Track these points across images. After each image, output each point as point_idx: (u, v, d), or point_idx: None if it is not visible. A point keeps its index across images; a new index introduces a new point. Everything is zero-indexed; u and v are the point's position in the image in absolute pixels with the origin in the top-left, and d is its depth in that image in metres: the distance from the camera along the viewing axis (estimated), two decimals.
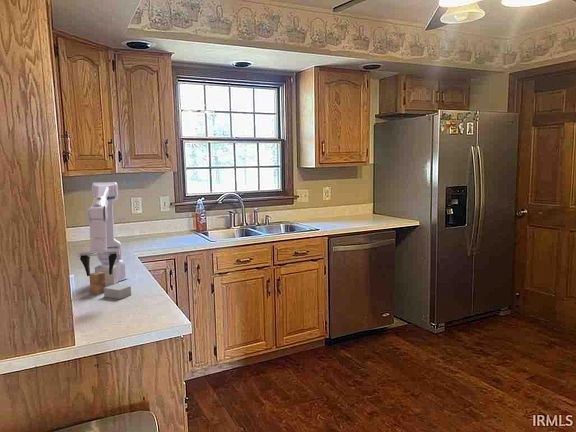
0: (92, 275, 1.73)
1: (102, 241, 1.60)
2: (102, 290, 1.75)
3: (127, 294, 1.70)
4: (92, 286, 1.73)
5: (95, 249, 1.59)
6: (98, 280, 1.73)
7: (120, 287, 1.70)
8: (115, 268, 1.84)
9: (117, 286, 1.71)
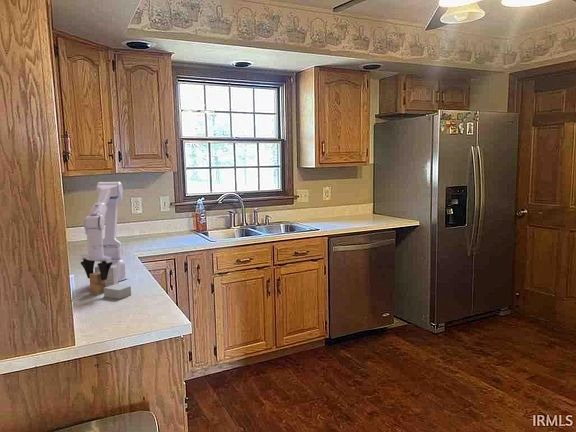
0: (92, 275, 1.73)
1: (94, 249, 1.70)
2: (102, 290, 1.75)
3: (127, 294, 1.70)
4: (92, 286, 1.73)
5: (89, 256, 1.71)
6: (98, 280, 1.73)
7: (120, 287, 1.70)
8: (115, 268, 1.84)
9: (117, 286, 1.71)
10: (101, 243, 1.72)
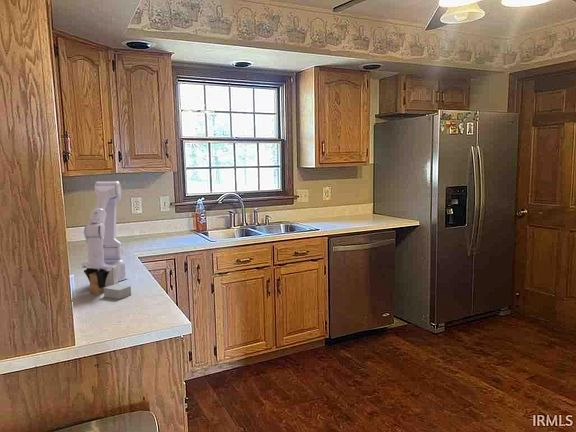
0: (92, 275, 1.73)
1: (94, 257, 1.71)
2: (102, 290, 1.75)
3: (127, 294, 1.70)
4: (92, 286, 1.73)
5: (89, 264, 1.72)
6: None
7: (120, 287, 1.70)
8: (115, 268, 1.84)
9: (117, 286, 1.71)
10: (101, 251, 1.73)
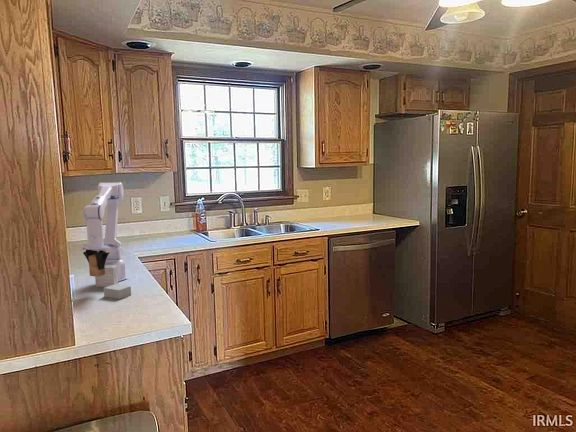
0: (91, 257, 1.71)
1: (94, 239, 1.70)
2: (101, 272, 1.73)
3: (127, 294, 1.70)
4: (91, 268, 1.72)
5: (88, 245, 1.70)
6: (97, 262, 1.71)
7: (120, 287, 1.70)
8: (115, 268, 1.84)
9: (117, 286, 1.71)
10: (101, 233, 1.72)
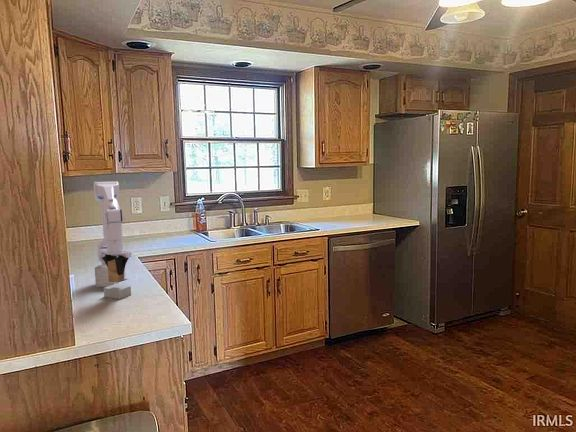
0: (110, 262, 1.67)
1: (113, 243, 1.66)
2: (120, 278, 1.69)
3: (127, 294, 1.70)
4: (110, 274, 1.68)
5: (108, 250, 1.66)
6: None
7: (120, 287, 1.70)
8: None
9: (117, 286, 1.71)
10: None
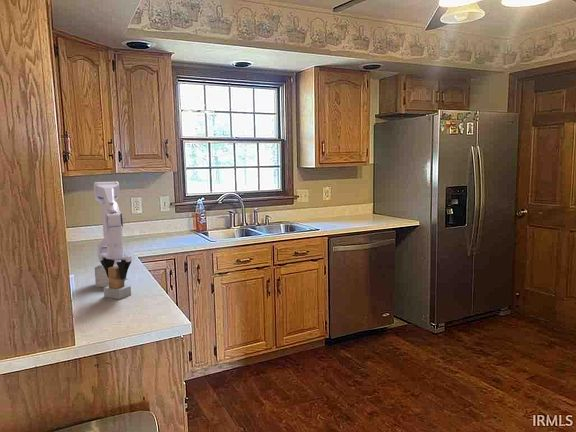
0: (111, 269, 1.68)
1: (114, 248, 1.66)
2: (121, 284, 1.70)
3: (127, 294, 1.70)
4: (110, 281, 1.69)
5: (108, 255, 1.67)
6: (117, 274, 1.68)
7: None
8: None
9: None
10: (122, 241, 1.69)
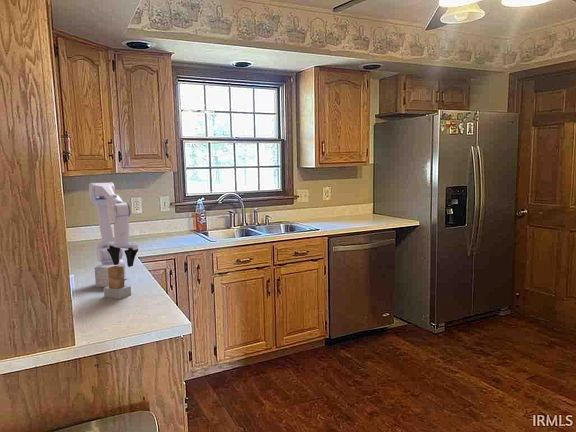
0: (111, 269, 1.68)
1: (121, 236, 1.73)
2: (121, 284, 1.70)
3: (127, 294, 1.70)
4: (110, 281, 1.69)
5: (115, 243, 1.74)
6: (117, 274, 1.68)
7: None
8: None
9: None
10: (128, 230, 1.77)
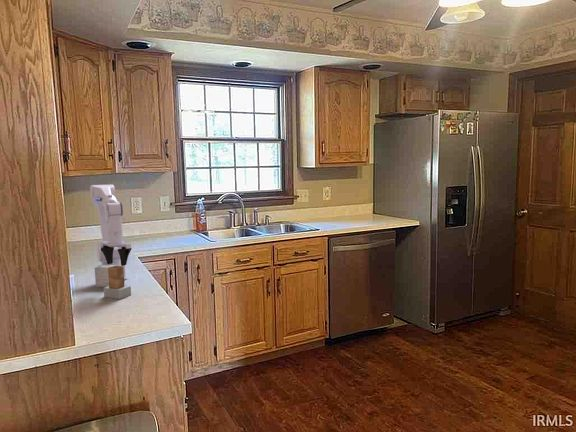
0: (111, 269, 1.68)
1: (114, 235, 1.74)
2: (121, 284, 1.70)
3: (127, 294, 1.70)
4: (110, 281, 1.69)
5: (109, 242, 1.75)
6: (117, 274, 1.68)
7: None
8: None
9: None
10: None
